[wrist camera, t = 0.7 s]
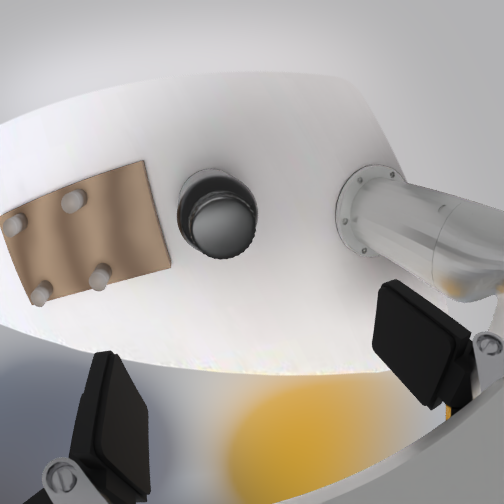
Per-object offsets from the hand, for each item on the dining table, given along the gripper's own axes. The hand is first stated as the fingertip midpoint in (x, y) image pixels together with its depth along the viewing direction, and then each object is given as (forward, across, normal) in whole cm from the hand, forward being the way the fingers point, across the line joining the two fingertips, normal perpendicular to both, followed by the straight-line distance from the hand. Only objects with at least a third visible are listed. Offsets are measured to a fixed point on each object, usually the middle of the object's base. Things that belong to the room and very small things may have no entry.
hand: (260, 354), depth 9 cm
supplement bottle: (+24, -1, -1) cm, 24 cm away
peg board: (+24, +15, 0) cm, 29 cm away
